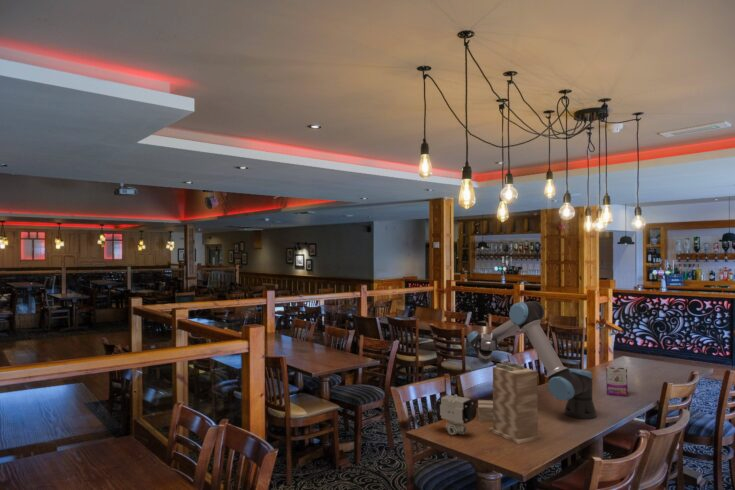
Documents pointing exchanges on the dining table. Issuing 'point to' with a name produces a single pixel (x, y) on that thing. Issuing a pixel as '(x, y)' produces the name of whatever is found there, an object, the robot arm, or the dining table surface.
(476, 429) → the dining table surface
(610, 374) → the candy bar box
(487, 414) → the beech block
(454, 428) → the ball valve
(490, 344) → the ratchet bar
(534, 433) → the oak stand
